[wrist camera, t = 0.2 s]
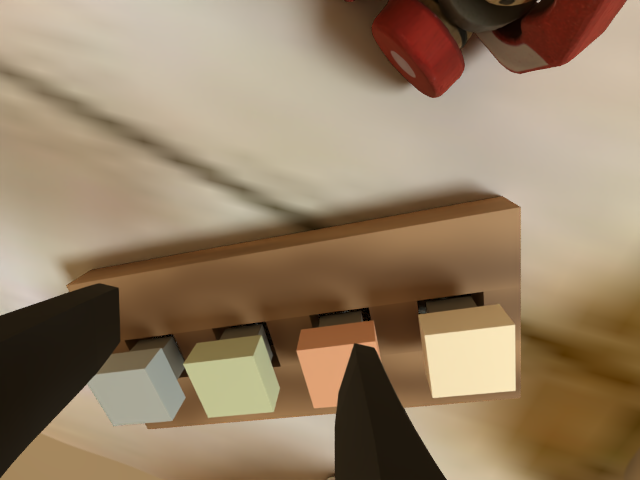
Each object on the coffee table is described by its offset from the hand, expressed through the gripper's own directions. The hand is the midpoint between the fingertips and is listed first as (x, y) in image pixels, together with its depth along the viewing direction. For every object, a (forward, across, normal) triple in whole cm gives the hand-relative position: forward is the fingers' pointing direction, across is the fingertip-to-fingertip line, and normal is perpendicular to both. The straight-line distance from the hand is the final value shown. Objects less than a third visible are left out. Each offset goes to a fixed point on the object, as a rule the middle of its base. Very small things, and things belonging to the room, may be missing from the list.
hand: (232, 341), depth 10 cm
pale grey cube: (+8, +6, +10) cm, 14 cm away
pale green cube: (+8, +1, +7) cm, 11 cm away
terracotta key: (+8, -4, +5) cm, 11 cm away
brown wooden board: (+10, -2, +6) cm, 12 cm away
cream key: (+8, -10, +2) cm, 13 cm away
